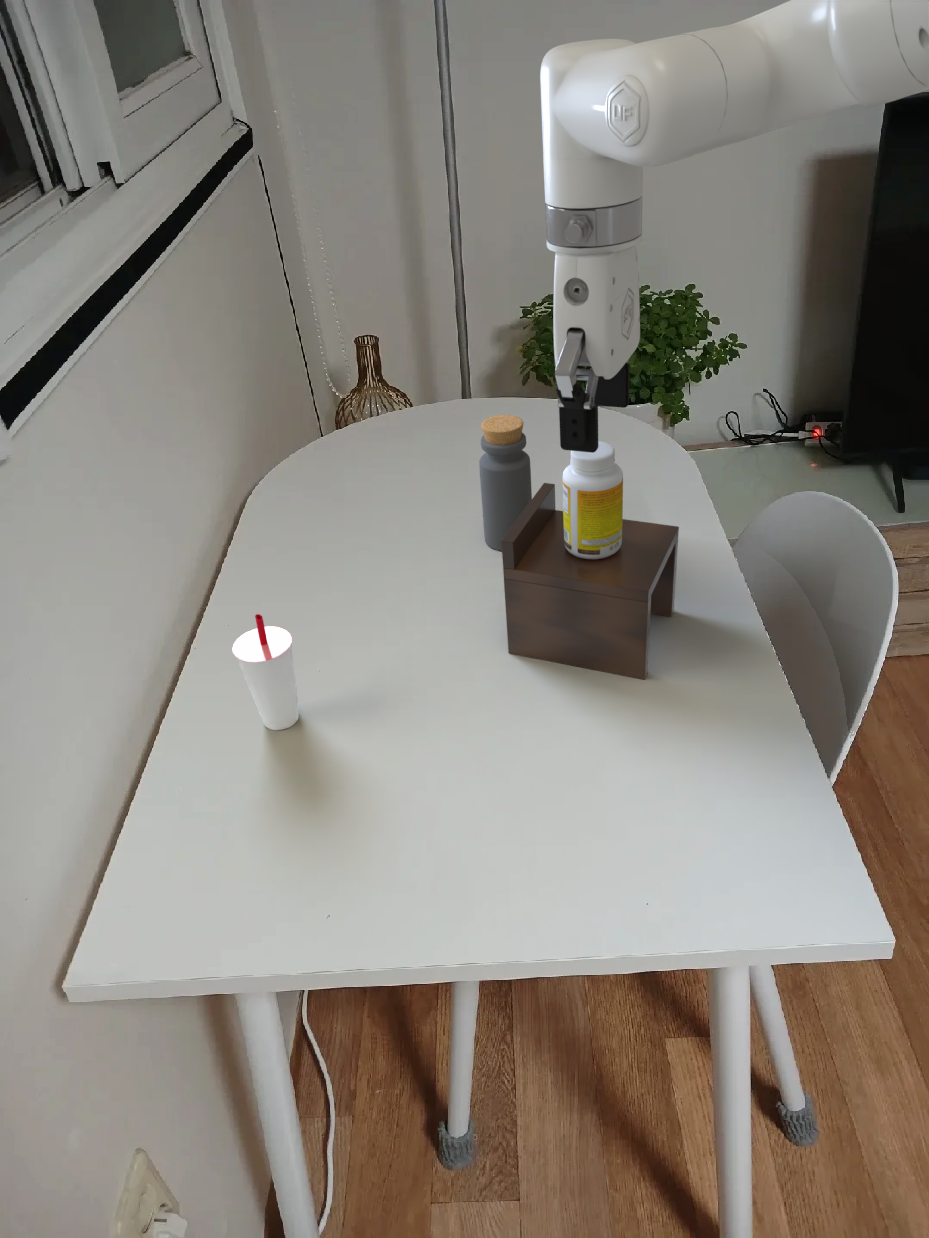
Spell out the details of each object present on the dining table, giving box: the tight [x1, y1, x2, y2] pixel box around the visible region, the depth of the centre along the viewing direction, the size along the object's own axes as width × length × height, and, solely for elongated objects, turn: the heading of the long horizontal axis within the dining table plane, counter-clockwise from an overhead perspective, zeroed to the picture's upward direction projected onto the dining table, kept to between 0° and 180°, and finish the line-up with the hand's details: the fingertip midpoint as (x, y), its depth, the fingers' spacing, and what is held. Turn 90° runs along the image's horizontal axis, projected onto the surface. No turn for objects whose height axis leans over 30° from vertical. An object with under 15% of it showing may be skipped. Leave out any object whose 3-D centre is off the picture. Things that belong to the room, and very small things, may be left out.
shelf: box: [501, 482, 680, 680], centre depth 94 cm, size 14×12×13 cm
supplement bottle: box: [561, 440, 624, 559], centre depth 89 cm, size 6×6×10 cm
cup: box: [231, 613, 300, 731], centre depth 87 cm, size 5×5×12 cm
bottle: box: [478, 414, 533, 552], centre depth 110 cm, size 6×6×15 cm
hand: (596, 426), depth 85 cm, fingers open, 9 cm apart
